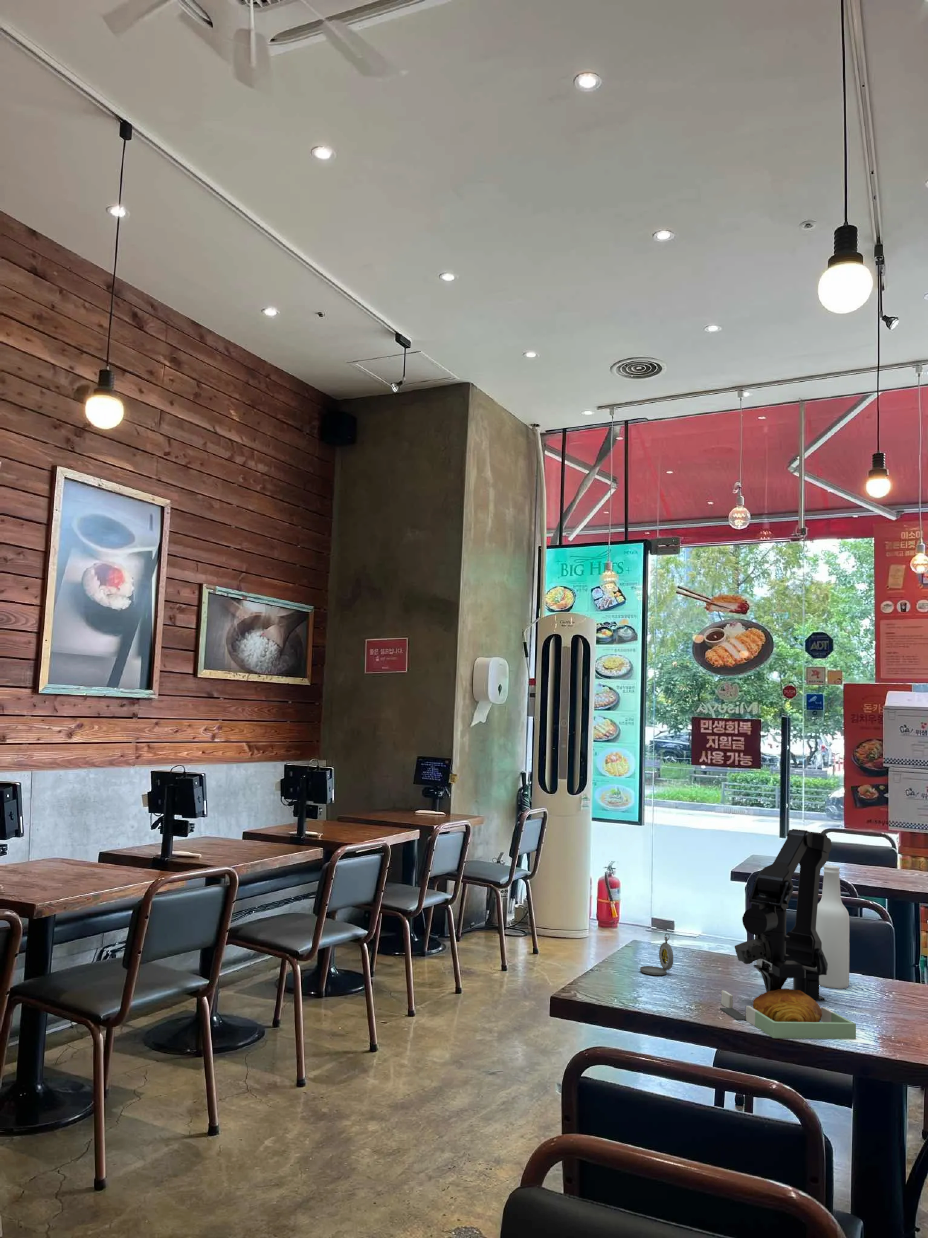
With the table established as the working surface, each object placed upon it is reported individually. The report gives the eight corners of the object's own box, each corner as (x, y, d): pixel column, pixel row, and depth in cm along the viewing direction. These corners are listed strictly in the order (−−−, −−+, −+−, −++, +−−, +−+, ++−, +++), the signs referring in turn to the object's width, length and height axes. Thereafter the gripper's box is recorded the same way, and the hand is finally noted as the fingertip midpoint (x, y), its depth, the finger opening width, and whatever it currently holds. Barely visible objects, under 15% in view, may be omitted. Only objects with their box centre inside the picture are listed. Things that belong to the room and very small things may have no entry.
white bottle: (850, 991, 229) (851, 869, 233) (813, 986, 232) (814, 866, 236) (847, 983, 238) (848, 866, 242) (811, 978, 240) (813, 862, 244)
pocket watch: (635, 972, 235) (636, 932, 237) (652, 968, 241) (653, 929, 243) (663, 979, 230) (664, 938, 231) (679, 974, 236) (680, 934, 237)
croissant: (823, 1031, 202) (825, 993, 204) (819, 1039, 188) (820, 998, 190) (755, 1017, 208) (757, 980, 210) (746, 1024, 194) (749, 985, 196)
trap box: (712, 1004, 210) (712, 990, 210) (804, 1005, 213) (804, 992, 214) (763, 1038, 186) (763, 1022, 187) (865, 1039, 190) (865, 1024, 190)
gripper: (721, 920, 216) (719, 989, 214) (760, 938, 198) (758, 1013, 196) (765, 921, 218) (763, 989, 216) (807, 939, 199) (806, 1013, 197)
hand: (771, 1001), depth 206 cm, fingers closed
